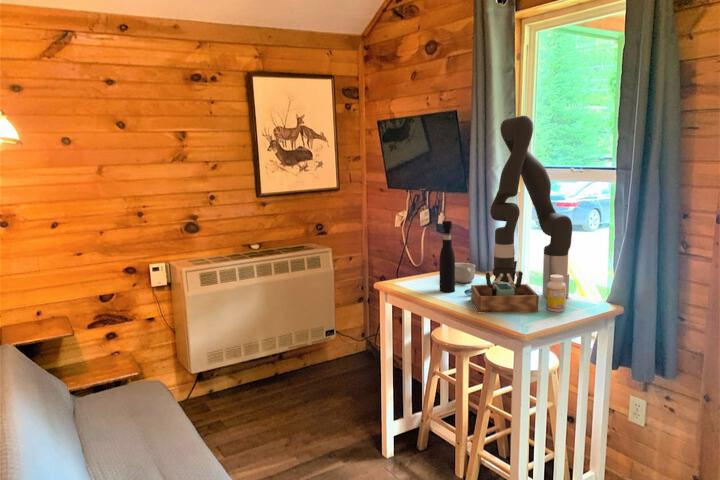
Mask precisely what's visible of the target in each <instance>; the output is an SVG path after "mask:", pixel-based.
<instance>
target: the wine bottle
mask: <svg viewBox="0 0 720 480" xmlns="http://www.w3.org/2000/svg"><path fill="white" fill-rule="evenodd" d="M441 225H442V230H443V239H442V247H441V250H440V254H439V291H440V292H441V293H445V294H451V293H454V292H456V281H455V263H456V257H455V252H454V249H453V245H452V242H453V240H452V235H451V230H452V229H453V228H452V227H453V221H452V220H443V221H442V224H441Z"/></svg>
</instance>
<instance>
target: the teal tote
mask: <svg viewBox="0 0 720 480" xmlns="http://www.w3.org/2000/svg"><path fill="white" fill-rule="evenodd" d="M496 296H515V290H514V289H513V287H512V286H511V285H510V284H509V283H502V282H499V284H498V285H497V287H496Z"/></svg>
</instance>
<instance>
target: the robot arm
mask: <svg viewBox="0 0 720 480" xmlns="http://www.w3.org/2000/svg"><path fill="white" fill-rule="evenodd" d="M533 133H534V123H533V120H532V119H531V117H530V116H528V115H525V114H524V115H518V116H513V117H509V118H506V119H504V120H503V121H502V122H501V124H500V134H501V137H502V140H503V141H504V143H505V146H506V147H507V148H508V150H509V152H510V155H509V157H508V159H507V160H506V162H505V164H504V166H503V168H502V170H501V174H500V178H499V185H498V190H497V192H496V195H495V197H494V200H493V201H492V204H491V207H490V212H489V213H490V217H491V219H492V220H493V221H496V222H497V221H498V222H505V225H504V226H501V227H500V226H499V227H497V228H496V229H495V230H494V246H493V247H494V249H493V268H492V270H491V271H488V270H487V271H485V281H486V285H487V286H488V287H489V288H492V296H496V287H497V285H498V284H499V283H502V282H503V281H506V282H508V281H509V283H510V285H511V286H512V287H513V289H514V290H515V289H516V288H517V287H520V286H521V284H522V280H523V274H524V273H523V271H522V270H516V271H515V269H514V258H515V254H516V253H515V231H516V227H517V224H518V222H519V221H518V220H519V218H520V213H521V212H520V208H519V206H518V205H517V204H516V203H515V202H506V201H507V200H508V199H509V198H513V197H516V196H517V195H518V192H519V186H520V179H522V181H523V184H524V186H525V188H526V190H527V193H528V195H529V199H530V201H531V203H532V206H533V207H534V209H535V212H536V216H537V220H538V223H539V227H540V229H541V230H542V233H544V234H545V235H546V236H549V237H550V240H549V241H550V242H549V244H548V245H545V246H544V247H543V261H542V263H543V268H542V270H543V271H542V296H543V297H545V298H547V284H548V282H550V281H551V280H550V275H562V276H563V282H564V283H565V284H566V298H569V293H570V292H569V290H570V274H569V271H568V270H569V267H568V266H569V251H570V249H571V245H572V238H573V237H572V236H573V223H572V220H571V218H570V217H569V216H568V215H565V214H559V213H557V211H556V209H555V207H554V206H553V203H552V201H551V191H552V190H551V188H552V184H551V183H552V182H551V179H550V177H549V174H548V172H547V170H546V169H547V168H546V167H545V165H544V164H543V163H542V162H541V161H540V160H539V159H538V158H537V157H536V155H534V154H533V153H532V152H531V151H530V150H529V147H530V145H531V144H530V143H531V139H532V137H533ZM514 274H515V277H516V282H515V281H514V282H515V283H514V282H513V280H512V277H513V276H514ZM492 276H494V279H493V283H492V282H491V277H492Z"/></svg>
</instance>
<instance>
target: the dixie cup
mask: <svg viewBox="0 0 720 480" xmlns="http://www.w3.org/2000/svg"><path fill="white" fill-rule="evenodd" d="M517 263H518V258H516V257H514V269H515V271H517ZM515 278H516V274H514V276H513V277H512V280H513V282H515ZM501 283H509V281H508V282H506V281H503V282H501ZM509 284H510V283H509Z"/></svg>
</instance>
